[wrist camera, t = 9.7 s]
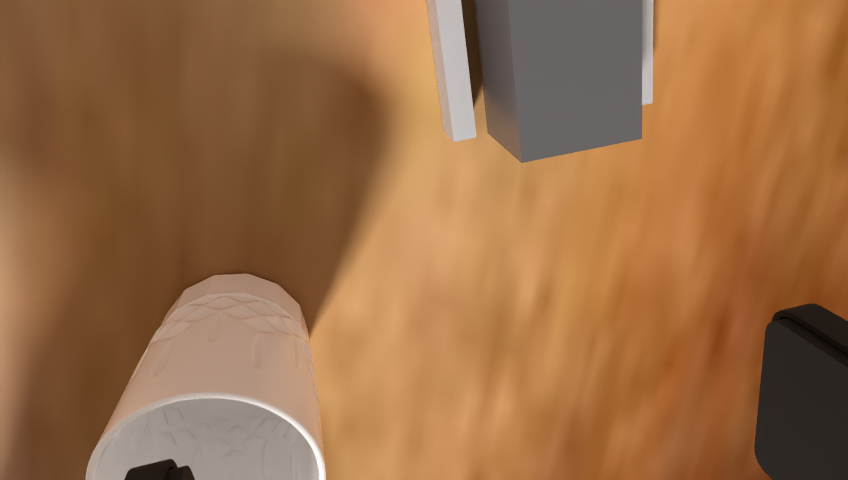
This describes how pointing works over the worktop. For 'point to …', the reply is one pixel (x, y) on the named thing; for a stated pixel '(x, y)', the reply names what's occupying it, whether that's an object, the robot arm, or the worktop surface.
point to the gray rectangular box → (560, 74)
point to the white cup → (221, 390)
